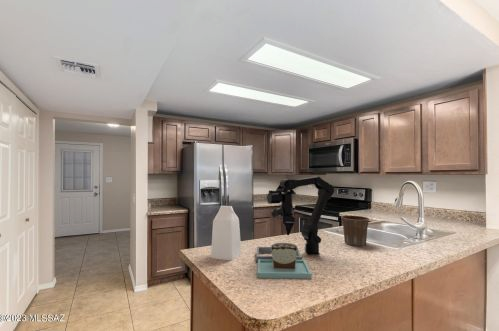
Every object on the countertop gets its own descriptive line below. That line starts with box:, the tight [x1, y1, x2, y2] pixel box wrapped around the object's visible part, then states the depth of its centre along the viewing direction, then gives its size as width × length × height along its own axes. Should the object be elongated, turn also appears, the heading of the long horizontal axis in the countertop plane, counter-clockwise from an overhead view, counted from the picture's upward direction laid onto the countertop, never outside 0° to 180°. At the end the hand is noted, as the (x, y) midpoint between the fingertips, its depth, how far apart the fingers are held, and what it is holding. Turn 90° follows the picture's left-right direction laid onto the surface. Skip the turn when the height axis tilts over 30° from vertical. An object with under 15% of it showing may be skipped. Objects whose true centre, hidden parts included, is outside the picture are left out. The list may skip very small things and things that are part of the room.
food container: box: [270, 242, 299, 270], centre depth 115 cm, size 12×6×10 cm, turn 85°
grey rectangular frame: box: [255, 246, 303, 264], centre depth 131 cm, size 22×17×3 cm
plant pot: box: [340, 214, 370, 247], centre depth 156 cm, size 16×16×16 cm
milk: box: [210, 205, 242, 261], centre depth 134 cm, size 12×12×26 cm
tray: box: [256, 259, 312, 280], centre depth 113 cm, size 22×17×2 cm
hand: (287, 233), depth 133 cm, fingers open, 9 cm apart
